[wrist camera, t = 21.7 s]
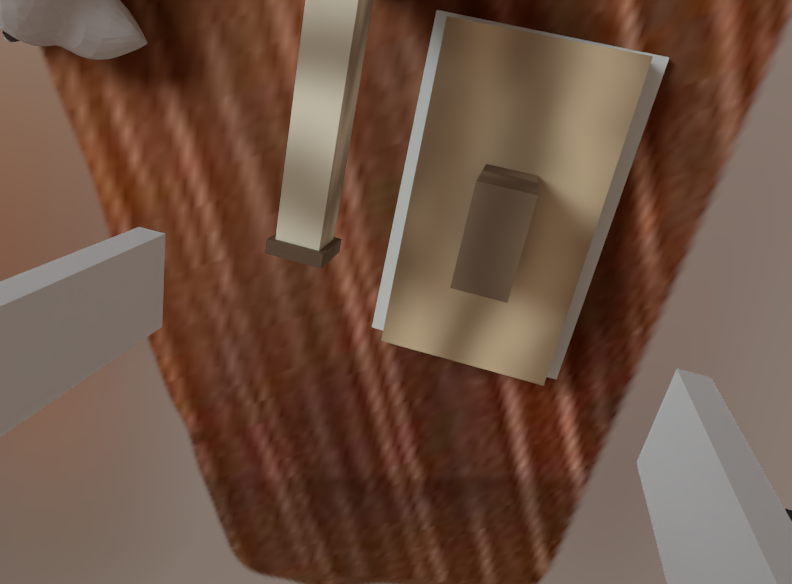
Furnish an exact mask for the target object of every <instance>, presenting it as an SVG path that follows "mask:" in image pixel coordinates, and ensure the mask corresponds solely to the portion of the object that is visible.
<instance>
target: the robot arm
mask: <svg viewBox="0 0 792 584" xmlns="http://www.w3.org/2000/svg"><path fill="white" fill-rule="evenodd" d="M164 257H165V234H164V233H160V232H157V231H153V230H149V229H145V228H141V227H137V228H135V229H132V230H130V231H127V232H125V233H122V234H120V235H117V236H115V237H112V238H110V239H107V240H105V241H102V242H100V243H97V244H95V245H92V246H89V247H87V248H84V249H82V250H79V251H77V252H74V253H72V254H69V255H66V256H64V257H62V258H59V259H56V260H54V261H51V262H49V263H46V264H44V265H41V266H39V267H36V268H33V269H31V270H28V271H26V272H23V273H21V274H18V275H16V276H13V277H11V278H8V279H6V280H3V281H0V437H1V436H2V435H4V434H5V433H7V432H8V431H10V430H11V429H13V428H14V427H16V426H17V425H18V424H20V423H22V422H23V421H24V420H26V419H27V418H29V417H30V416H32V415H33V414H35V413H36V412H37V411H39V410H40V409H42V408H43V407H45V406H46V405H48V404H49V403H51V402H52V401H54V400H55V399H56V398H58V397H59V396H61V395H62V394H64V393H65V392H67V391H68V390H70V389H71V388H73V387H74V386H76V385H77V384H79V383H80V382H81V381H83V380H84V379H86V378H87V377H89V376H90V375H92V374H93V373H95V372H96V371H98V370H99V369H101V368H102V367H103V366H105V365H106V364H108V363H109V362H111V361H112V360H114V359H115V358H117V357H118V356H119V355H121V354H123V353H124V352H125V351H127V350H128V349H130V348H131V347H133V346H134V345H136V344H137V343H139V342H140V341H141V340H143V339H144V338H146V337H147V336H149V335H150V334H152V333H153V332H155V331H156V330H158V329H159V328H161V327H162V315H163V286H164ZM637 466H638V470H639V475H640V478H641V482H642V487H643V491H644V495H645V498H646V502H647V507H648V511H649V515H650V519H651V521H652V526H653V531H654V534H655V538H656V542H657V546H658V550H659V554H660V558H661V562H662V566H663V570H664V574H665V578H666V582H667V584H792V511H791V510H788V509H784V507H783V505H782V503H781V501H780V500H779V498H778V496H777V494H776V493H775V491H774V489H773V487H772V485H771V484H770V482H769V480H768V478H767V477H766V475H765V473H764V471H763V469H762V468H761V466H760V464H759V462H758V461H757V459H756V457H755V455H754V453H753V452H752V450H751V448H750V447H749V445H748V443H747V441H746V439H745V437H744V436H743V434H742V432H741V430H740V428H739V427H738V425H737V423H736V421H735V420H734V418H733V416H732V414H731V412H730V411H729V409H728V407H727V406H726V404H725V402H724V400H723V398H722V397H721V395H720V393H719V391H718V389H717V388H716V386H715V384H714V382H713V380H712V379H711V377H707V376H703V375H699V374H696V373H692V372H688V371H684V370H681V369H676V372H675V374H674V376H673V379H672V381H671V383H670V386H669V388H668V390H667V393H666V395H665V397H664V400H663V402H662V404H661V407H660V409H659V411H658V414H657V416H656V418H655V421H654V423H653V425H652V428H651V430H650V432H649V435H648V437H647V439H646V442H645V444H644V447H643V449H642V451H641V453H640V456H639V458H638V460H637Z"/></svg>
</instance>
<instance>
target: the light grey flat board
mask: <svg viewBox="0 0 792 584" xmlns="http://www.w3.org/2000/svg"><path fill="white" fill-rule="evenodd" d="M447 16H449V17H454V18H459V19H464V20H470V21H475V22H480V23H485V24H490V25H495V26H500V27H505V28H510V29H515V30H521V31H526V32H531V33H536V34H541V35H546V36H551V37H556V38H561V39H566V40H572V41H577V42H582V43H587V44H592V45H597V46H602V47H607V48H612V49H618V50H623V51H628V52H633V53H638V54H643V55H648V56H653V57H652V60H651V63H650V66H649V69H648V72H647V75H646V79H645V82H644V85H643V88H642V91H641V94H640V97H639V100H638V103H637V106H636V109H635V112H634V115H633V118H632V121H631V124H630V127H629V130H628V133H627V136H626V139H625V142H624V145H623V148H622V151H621V154H620V157H619V160H618V163H617V166H616V169H615V172H614V175H613V178H612V181H611V184H610V187H609V190H608V193H607V196H606V199H605V202H604V205H603V208H602V211H601V214H600V217H599V220H598V223H597V226H596V229H595V232H594V235H593V238H592V241H591V245H590V248H589V251H588V254H587V257H586V260H585V263H584V266H583V269H582V272H581V275H580V278H579V281H578V284H577V287H576V290H575V293H574V296H573V299H572V302H571V305H570V308H569V311H568V314H567V317H566V320H565V323H564V326H563V329H562V332H561V335H560V338H559V341H558V344H557V347H556V350H555V353H554V356H553V359H552V362H551V365H550V368H549V371H548V374H547V377H549V378H552V379H556V380H557V377H558V374H559V371H560V368H561V365H562V363H563V360H564V357H565V354H566V351H567V348H568V346H569V343H570V340H571V337H572V334H573V331H574V328H575V326H576V323H577V320H578V317H579V314H580V311H581V308H582V306H583V303H584V300H585V297H586V294H587V291H588V289H589V286H590V283H591V280H592V277H593V274H594V271H595V269H596V266H597V263H598V260H599V257H600V254H601V251H602V249H603V246H604V243H605V240H606V237H607V234H608V231H609V229H610V226H611V223H612V220H613V217H614V214H615V212H616V209H617V206H618V203H619V200H620V197H621V194H622V192H623V189H624V186H625V183H626V180H627V177H628V174H629V172H630V169H631V166H632V163H633V160H634V157H635V155H636V152H637V149H638V146H639V143H640V140H641V137H642V135H643V132H644V129H645V126H646V123H647V120H648V117H649V115H650V112H651V109H652V106H653V103H654V100H655V97H656V95H657V92H658V89H659V86H660V83H661V80H662V78H663V75H664V72H665V69H666V66H667V63H668V60H669V57H664V56H659V55H655V54H650V53H645V52H640V51H635V50H630V49H625V48H621V47H616V46H611V45H606V44H601V43H596V42H591V41H586V40H582V39H577V38H572V37H567V36H562V35H557V34H552V33H547V32H543V31H538V30H533V29H528V28H523V27H518V26H513V25H508V24H504V23H499V22H494V21H489V20H484V19H479V18H474V17H469V16H465V15H460V14H455V13H450V12H445V11H440V10H436V15H435V20H434V25H433V30H432V35H431V40H430V45H429V49H428V54H427V59H426V64H425V69H424V74H423V79H422V84H421V89H420V94H419V98H418V103H417V108H416V113H415V118H414V123H413V128H412V133H411V138H410V143H409V147H408V152H407V157H406V162H405V167H404V172H403V177H402V182H401V187H400V192H399V197H398V201H397V206H396V211H395V216H394V221H393V226H392V231H391V236H390V241H389V246H388V250H387V255H386V260H385V265H384V270H383V275H382V280H381V285H380V290H379V295H378V300H377V304H376V309H375V314H374V319H373V324H372V328H376V329H379V330H383V329H384V324H385V319H386V314H387V309H388V304H389V299H390V294H391V289H392V284H393V279H394V275H395V270H396V265H397V260H398V255H399V250H400V245H401V240H402V235H403V230H404V225H405V220H406V215H407V210H408V205H409V200H410V196H411V191H412V186H413V181H414V176H415V171H416V166H417V161H418V156H419V151H420V146H421V141H422V136H423V131H424V126H425V121H426V116H427V112H428V107H429V102H430V97H431V92H432V87H433V82H434V77H435V72H436V67H437V62H438V57H439V52H440V47H441V42H442V37H443V33H444V28H445V23H446V18H447Z"/></svg>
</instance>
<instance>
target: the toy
mask: <svg viewBox="0 0 792 584" xmlns="http://www.w3.org/2000/svg"><path fill="white" fill-rule="evenodd" d="M0 28H1V29H2V30H3V34H4V38H5V40H6V41H8V42H16V41H19V40H20V41H23V42H25V43H28V44H31V45H35V46H54V45H56V46H61V47H63V48H65V49H67V50H69V51H71V52H73V53H74V54H76V55H78V56H81V57H84V58H87V59H95V60H103V59H112V58H115V57H119V56H122V55H124V54H127V53H129V52H132V51H135V50H137V49H139V48H141V47H143V46H144V45H146V44H148V43H147V41H146V38H145V36H144V35H143V33H142V31H141V29H140V28H139V26H138V24H137V22H136V20H135V19H134V17H133V16H132V15H131V13H130V12H129V10H128V9H127V8H126V6H125V5H124V4H123V3H122V2H121V1H120V0H0Z"/></svg>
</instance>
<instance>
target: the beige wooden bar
mask: <svg viewBox="0 0 792 584" xmlns="http://www.w3.org/2000/svg"><path fill="white" fill-rule="evenodd" d="M372 5H373V0H306V1H305V9H304V17H303V25H302V33H301V41H300V49H299V57H298V64H297V72H296V80H295V88H294V96H293V104H292V112H291V120H290V128H289V136H288V144H287V152H286V160H285V168H284V175H283V183H282V191H281V199H280V207H279V215H278V223H277V231H276V234H275V235H273V236H271V237H270V238H268V239H267V241H266V249H265V253H266V254H270V255H274V256H277V257H281V258H285V259H288V260H292V261H296V262H299V263H303V264H307V265H310V266H314V267H318V268H322V267H323V266H324V265H325V264H326V263H327V262H328V261H330V260H331V259H332V258H333V257H334V256H335V255H336V254H337V253H339V250H340V244H341V239H339V238H335V237H334V235H335V229H336V223H337V217H338V210H339V204H340V198H341V192H342V186H343V180H344V174H345V168H346V162H347V156H348V150H349V144H350V138H351V132H352V126H353V120H354V114H355V108H356V102H357V96H358V90H359V84H360V78H361V72H362V66H363V60H364V54H365V48H366V42H367V36H368V30H369V23H370V17H371V11H372Z"/></svg>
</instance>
